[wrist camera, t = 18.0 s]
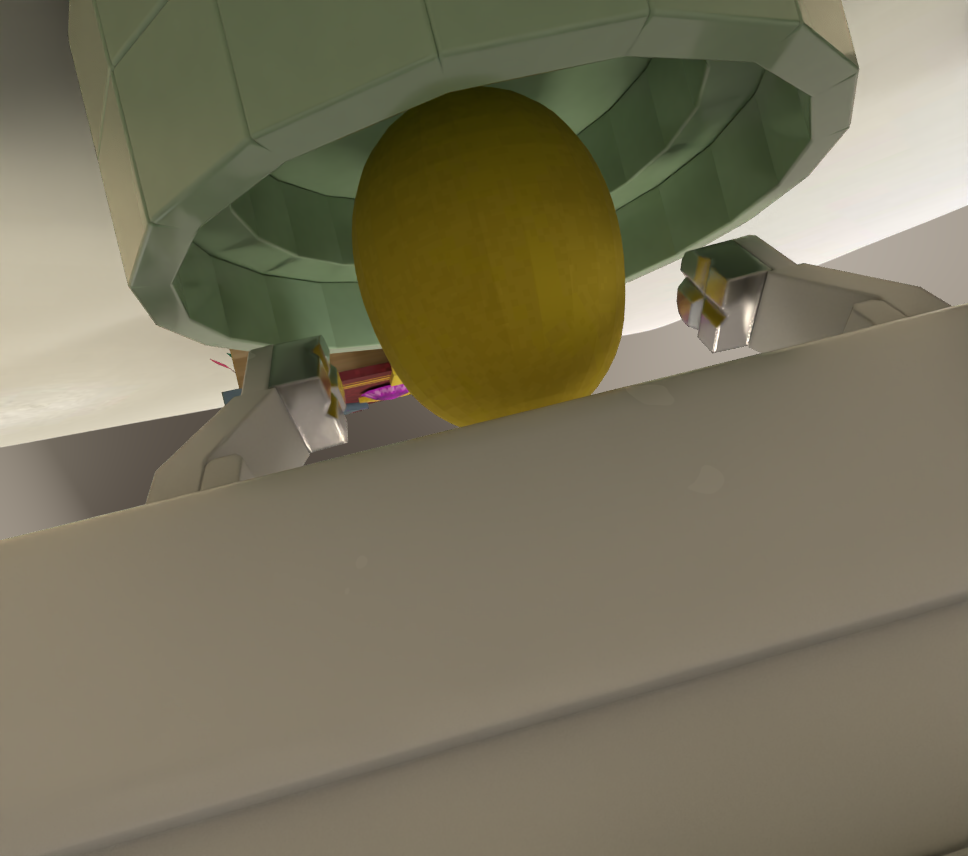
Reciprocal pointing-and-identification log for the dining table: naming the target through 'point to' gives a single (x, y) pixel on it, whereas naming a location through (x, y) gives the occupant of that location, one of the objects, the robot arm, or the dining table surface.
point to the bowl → (409, 83)
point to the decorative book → (345, 377)
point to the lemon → (489, 256)
